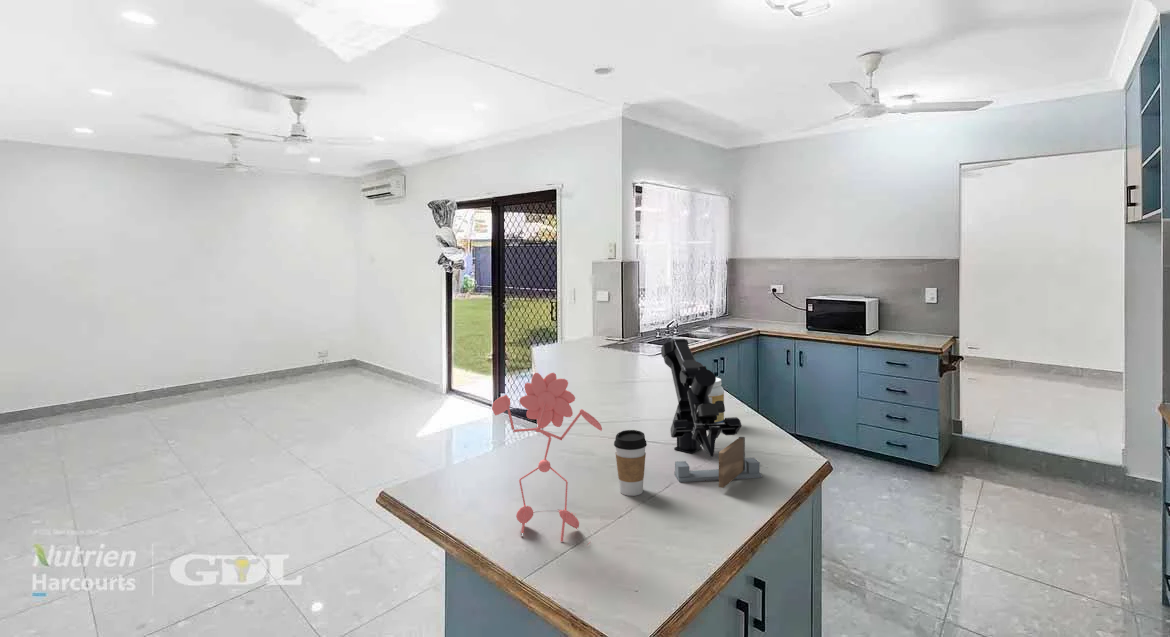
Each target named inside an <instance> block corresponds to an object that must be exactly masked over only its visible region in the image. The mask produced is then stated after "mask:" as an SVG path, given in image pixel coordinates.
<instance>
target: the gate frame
mask: <svg viewBox="0 0 1170 637" xmlns="http://www.w3.org/2000/svg"><path fill="white" fill-rule="evenodd" d="M760 464H761V463H760V461H759V460H758V459H756V457H745V470H744V471H742V472H741V473H740V474H739V475H738V476H737V477H736V478H734V479H733V480H740V479H760V478H762V473H761V471H760V470H761V469H760V468H761V466H760ZM674 477H675V478H676V480H677V481H678V482H679V483H684V482H685V483H687V482H704V481H705V480H706V481H708V482H709V481H719V468H718V469H717V468H715V469H699V470H690V465H689V464H688V462H687V461H686V460H682V461H681V460H680V461H674Z"/></svg>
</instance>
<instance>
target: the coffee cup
mask: <svg viewBox="0 0 1170 637" xmlns="http://www.w3.org/2000/svg"><path fill="white" fill-rule="evenodd" d="M613 446H614V447H615V461H616V467H617V468H616V469H617V476H618V477H617V478H618V485H619V486H618V487H619V493H620V494H622V495H624V496H627V497H633V496H634V497H635V496H639V495H641V494H643V492H644V478H645V468H646V467H645V466H646V454H647V453H646V447H647V446H648V443H647V440H646V437H645V433H644V432H642V431H640V430H637V429H636V430H635V429H625V430H622V431H619V432H617V434H616V435H615V440H614V442H613Z"/></svg>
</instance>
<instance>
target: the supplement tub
mask: <svg viewBox="0 0 1170 637" xmlns="http://www.w3.org/2000/svg"><path fill="white" fill-rule="evenodd" d="M722 385H723V384H722V378H719V377H717V376H716V381H715V384H714V386H713V388H712V391H711V393H710V394H709V395H708V396H709V400H710V403H712V404H713V403H715V402H716V401H723V403H724V404H725V390H724V387H723V386H722ZM724 419H725V412H723V413H719V416H718V415H717V420H715V423H723V421H724Z"/></svg>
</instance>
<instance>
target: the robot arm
mask: <svg viewBox="0 0 1170 637" xmlns="http://www.w3.org/2000/svg"><path fill="white" fill-rule="evenodd" d="M660 353H661V357H663V361H664V364H665V365H666V366H667V367H669V368H670V369H671V375H672V379H673V384H674V388H675V394H676V398H677V403H678V404H677V407H676V411H675V413H674V415H673V419H672V423H671V426H670V437H671V438H673V439H676V446H675V447H674V448H673V449H674V450H675V451H680V452H684V453H689V454H693V453H696V452H697V451H699V450H701V449H702V448H703V450H704V452H706V454H707V455H708V456H709V457H710V458H712V457H714V455H715V446H716V439H718V438H719V436H720V434H721V432H722V434H723V435H725V436H735V435H738V433H739V431H740V430H741V428H742V421H741V419H739V417H737V416H734V417H724V421H723V423H715V420H717V415H718V416H719V413H723V412H724V413H725V412H726V407H725V402H724V403H723V401H716V402H715V403H713V404H712V403H710V400H709V396H708V395H709V394H710V393H711V391H712V388H713V386H714V384H715V381H716V377H717V376H716V375H715V373H714V372H713V371H712V370H709V369H708V368H707V366H706V365H703V364H702V363H701V362H699V361H696V359H695V357H694V354H693V353H692V350H691V348H690V347H689V340H688V339H687V338H674V339H671V340H669V342H665V343H663V344H662V346H661V347H660Z"/></svg>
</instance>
